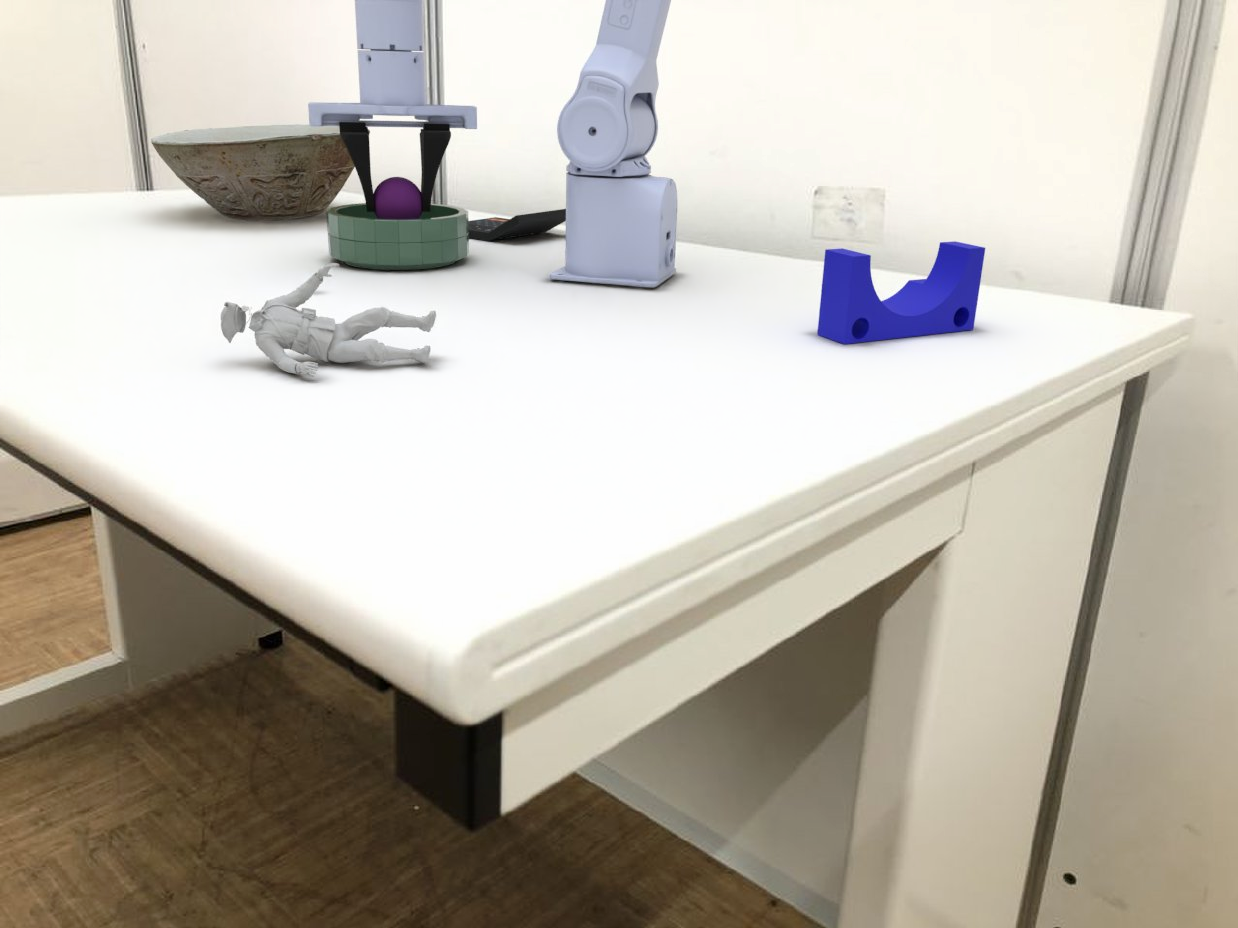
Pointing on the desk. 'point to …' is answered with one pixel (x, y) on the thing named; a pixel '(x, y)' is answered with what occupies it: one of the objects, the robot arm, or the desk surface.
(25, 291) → the desk surface
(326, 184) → the bowl
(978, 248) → the blue pipe saddle bracket
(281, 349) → the soldier figure
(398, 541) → the desk surface
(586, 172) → the robot arm
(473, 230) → the calculator
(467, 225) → the green bowl
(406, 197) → the ball
